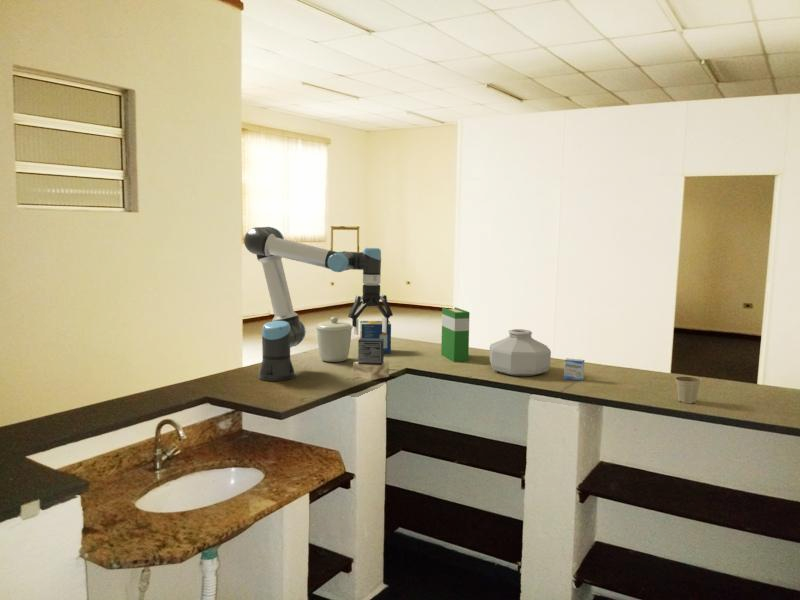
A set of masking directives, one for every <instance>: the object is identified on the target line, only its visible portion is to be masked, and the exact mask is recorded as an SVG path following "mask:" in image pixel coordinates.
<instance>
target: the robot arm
mask: <svg viewBox="0 0 800 600" xmlns="http://www.w3.org/2000/svg"><path fill="white" fill-rule="evenodd" d="M243 242H244V246H245V248H246V250H247V251H249V253H251V254H253V255H256V259H257V261H258V262H260V263H261V265H262V269H263V273H264V277H265V280H266V281H265V282H266V285H267V290H268V293H269V298H270V302H271V306H272V311H273V314H274V317H273V318H272V320H271V321H268V322H266V323H264V324H263V326H262V329H261V330H262V331H261V339H262V341H261V342H262V343H261V345H262V346H261V347H262V350H261V351H262V361H261V365H260V368H259V369H258V379H260V380H262V381H266V382H267V381H268V382H282V381H287V380H291V379H293V378H294V379H295V375H296V374H295V372H296V371H295V369H294V365H293V363H292V360H291V348H293V347H296V346H298V345H299V344H301V342H303V341H304V339H305V337H306V328H305V324H304V323H303V322H302V321H301V320H300V317H299V314H298V312H297V313H296V312H295V311H294V306H293V303H292V299H291V295H290V291H289V286H288V282H287V277H286V273H285V269H284V265H283V261H282V258H284V259H287V260H290V261H291V260H292V261H296V262H300V263H304V264H308V265H312V266H316V267H321V268H325V269H328V270H330V271H332V272H336V273H342V272H344V271H349V270H356V271H362V283H363V284H362V296H359V295H355V301H354V303H353V305H352V306H351V309H350V311H349V314H347V315H348V318H351V319H352V322H351V323H352V324H351V325H352V326H353V334H354V335H356V336H357V335H359V324H360V321H359V319H358V318H359V316H360V315H362V312H364V311H365V308H367V307H376V308H377V309H378V310H379V311H380V313H381V314H382V315H383V316H382V320H381V321H382V332H384V333H387V325H388V321H389V319H390V318H391V317H393V315H394V314H393V311H392V310H391V307H390V304H389V302H388V298H387V295H385V294H381V285H380V284H381V276H382V275H381V272H382V271H381V270H382V251H381V248H377V247H364V248H363V251H361V252H358V251H357V252H356V251H346V250H345V251H334V250H330V249H326V248H322V247H317V246H313V245H310V244H305V243H300V242H297V241H292V240H288V239H284V235H283V233H281V231H280V230H279V229H278V228H275V227H273V226H272V227H271V226H263V227H262V226H261V227H259V226H255V227H252V228H251V229H249V230H248V231H246V233H245V236H244V239H243ZM380 300H381V302H382V304H383V306H384V307H383V306H382V304H381V302H380ZM359 305H360V306H359Z"/></svg>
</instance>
